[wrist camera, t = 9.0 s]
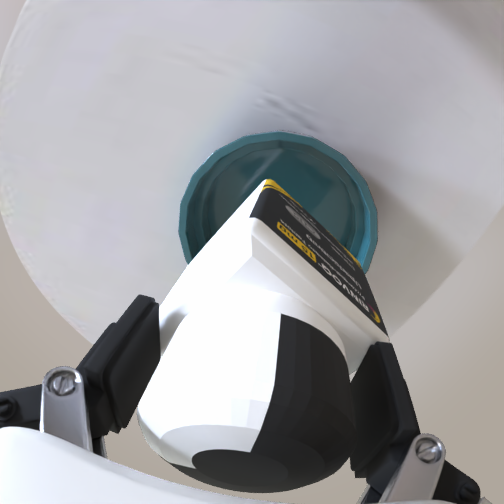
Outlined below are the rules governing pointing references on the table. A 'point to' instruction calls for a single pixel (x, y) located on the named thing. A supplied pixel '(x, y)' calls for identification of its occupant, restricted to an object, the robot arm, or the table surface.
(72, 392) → the robot arm
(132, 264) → the table surface
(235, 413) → the medicine bottle
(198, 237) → the dish
